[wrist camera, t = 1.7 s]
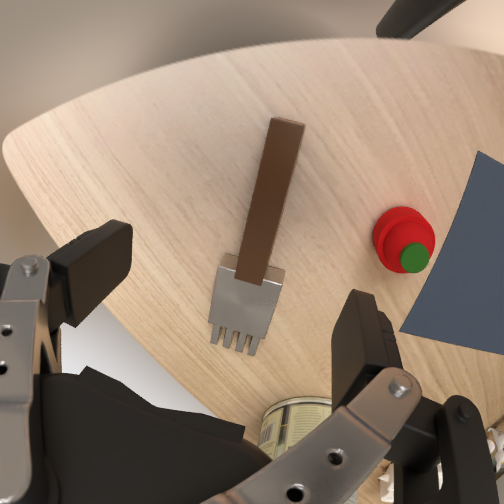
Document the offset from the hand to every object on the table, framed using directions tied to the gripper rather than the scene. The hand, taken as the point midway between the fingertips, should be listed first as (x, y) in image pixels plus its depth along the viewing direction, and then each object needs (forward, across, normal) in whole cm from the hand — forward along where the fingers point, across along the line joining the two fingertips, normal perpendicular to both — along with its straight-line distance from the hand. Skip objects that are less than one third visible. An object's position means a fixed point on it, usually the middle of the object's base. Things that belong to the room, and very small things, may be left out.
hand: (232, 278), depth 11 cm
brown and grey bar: (+11, 0, +4) cm, 11 cm away
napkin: (+11, -20, 0) cm, 23 cm away
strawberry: (+11, -9, 0) cm, 14 cm away
